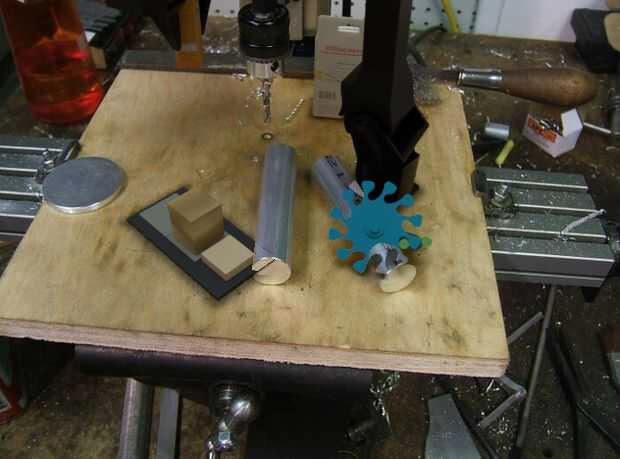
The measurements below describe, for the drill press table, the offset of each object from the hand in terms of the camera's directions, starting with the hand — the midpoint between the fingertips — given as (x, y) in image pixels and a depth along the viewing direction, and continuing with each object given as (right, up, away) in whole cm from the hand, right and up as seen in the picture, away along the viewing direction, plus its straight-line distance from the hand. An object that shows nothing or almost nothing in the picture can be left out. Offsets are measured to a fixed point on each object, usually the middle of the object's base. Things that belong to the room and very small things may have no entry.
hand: (188, 42), depth 70 cm
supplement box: (0, -2, +2) cm, 3 cm away
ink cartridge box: (+20, -6, +12) cm, 24 cm away
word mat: (+3, -24, -8) cm, 26 cm away
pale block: (+3, -24, -8) cm, 26 cm away
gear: (+22, -26, -8) cm, 35 cm away
